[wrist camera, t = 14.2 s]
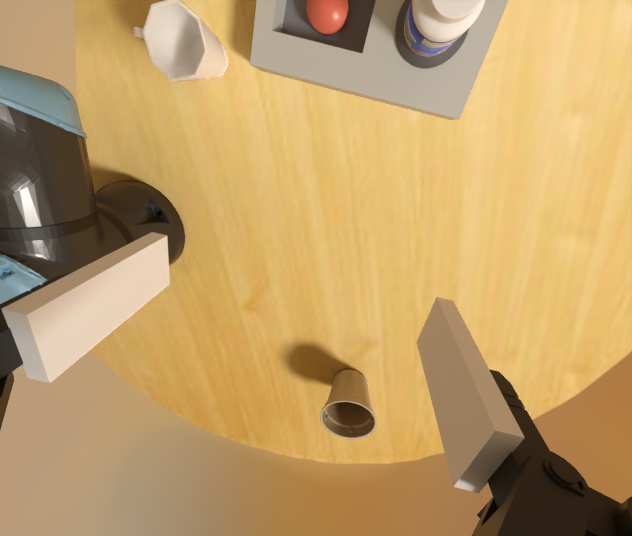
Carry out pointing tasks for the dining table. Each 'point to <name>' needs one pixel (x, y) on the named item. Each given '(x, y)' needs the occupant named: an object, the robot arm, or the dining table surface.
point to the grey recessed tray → (373, 54)
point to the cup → (181, 43)
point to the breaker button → (327, 15)
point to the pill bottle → (438, 23)
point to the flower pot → (349, 407)
